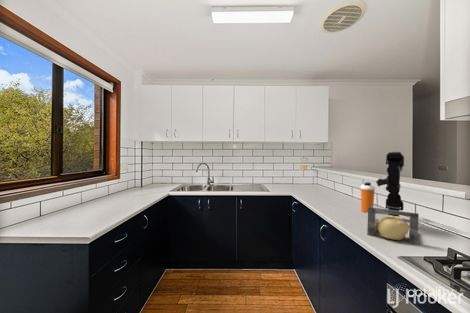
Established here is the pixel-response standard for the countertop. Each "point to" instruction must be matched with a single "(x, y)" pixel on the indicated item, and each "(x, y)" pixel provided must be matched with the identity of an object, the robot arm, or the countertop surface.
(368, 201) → the shaker bottle
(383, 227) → the pale yellow round lump
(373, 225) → the channel
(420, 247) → the countertop surface
